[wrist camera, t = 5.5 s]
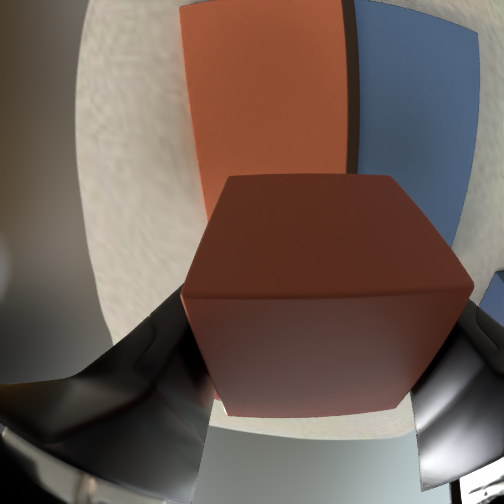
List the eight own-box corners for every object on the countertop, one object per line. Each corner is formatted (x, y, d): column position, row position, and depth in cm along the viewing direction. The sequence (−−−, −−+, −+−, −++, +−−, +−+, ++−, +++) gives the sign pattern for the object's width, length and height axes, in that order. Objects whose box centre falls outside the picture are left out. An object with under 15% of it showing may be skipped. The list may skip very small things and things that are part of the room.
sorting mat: (442, 262, 21) (445, 267, 21) (218, 267, 23) (216, 272, 23) (473, 33, 10) (478, 32, 9) (181, 8, 12) (178, 6, 11)
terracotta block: (368, 294, 11) (396, 409, 6) (243, 297, 11) (226, 416, 7) (391, 174, 8) (477, 285, 4) (227, 174, 8) (176, 294, 4)
